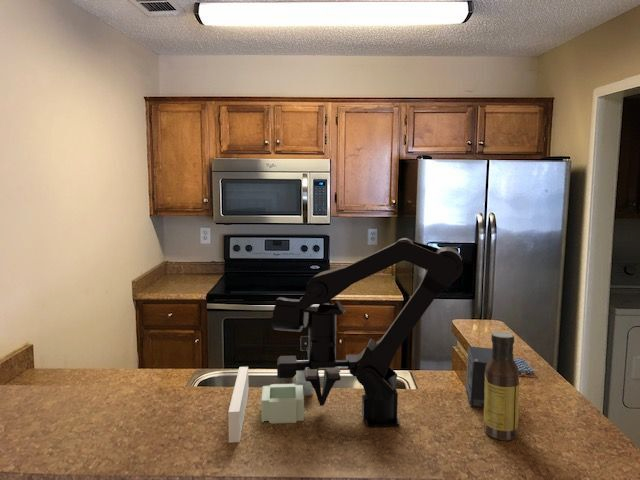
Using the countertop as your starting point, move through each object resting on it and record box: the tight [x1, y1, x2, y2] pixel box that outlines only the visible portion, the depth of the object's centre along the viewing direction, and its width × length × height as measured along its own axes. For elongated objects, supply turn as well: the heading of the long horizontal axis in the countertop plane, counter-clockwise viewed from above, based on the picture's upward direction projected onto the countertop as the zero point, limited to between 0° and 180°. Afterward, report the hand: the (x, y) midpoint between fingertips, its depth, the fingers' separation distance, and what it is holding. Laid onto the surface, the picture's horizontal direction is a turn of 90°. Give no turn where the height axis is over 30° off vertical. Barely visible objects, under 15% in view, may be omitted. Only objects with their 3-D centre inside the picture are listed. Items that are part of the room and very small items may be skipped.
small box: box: [465, 345, 492, 409], centre depth 106 cm, size 11×6×10 cm, turn 168°
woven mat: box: [513, 356, 537, 378], centre depth 124 cm, size 10×11×2 cm
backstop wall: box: [227, 366, 249, 444], centre depth 98 cm, size 2×22×6 cm, turn 5°
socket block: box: [260, 383, 305, 424], centre depth 99 cm, size 9×9×4 cm
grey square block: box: [296, 359, 314, 396], centre depth 109 cm, size 4×4×7 cm
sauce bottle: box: [483, 330, 520, 441], centre depth 90 cm, size 6×6×20 cm
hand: (321, 404), depth 99 cm, fingers closed
